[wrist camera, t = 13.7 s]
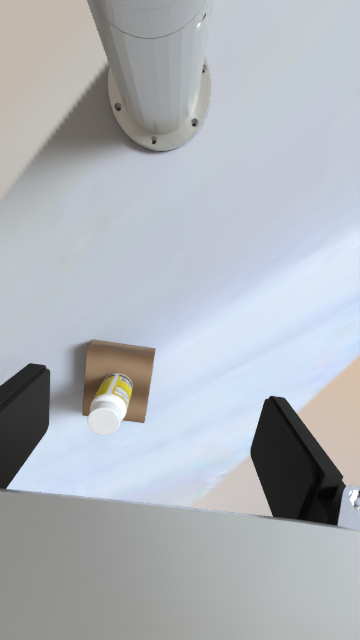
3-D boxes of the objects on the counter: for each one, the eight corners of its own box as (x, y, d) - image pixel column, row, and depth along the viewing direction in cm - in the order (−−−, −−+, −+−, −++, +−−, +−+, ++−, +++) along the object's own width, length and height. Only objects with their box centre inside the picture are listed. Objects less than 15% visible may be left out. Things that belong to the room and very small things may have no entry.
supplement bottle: (102, 397, 39) (83, 436, 31) (103, 370, 38) (83, 403, 30) (132, 400, 39) (121, 439, 31) (134, 373, 38) (123, 407, 30)
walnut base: (93, 339, 40) (87, 346, 37) (155, 348, 40) (153, 356, 37) (88, 404, 43) (82, 415, 40) (146, 411, 43) (144, 422, 40)
